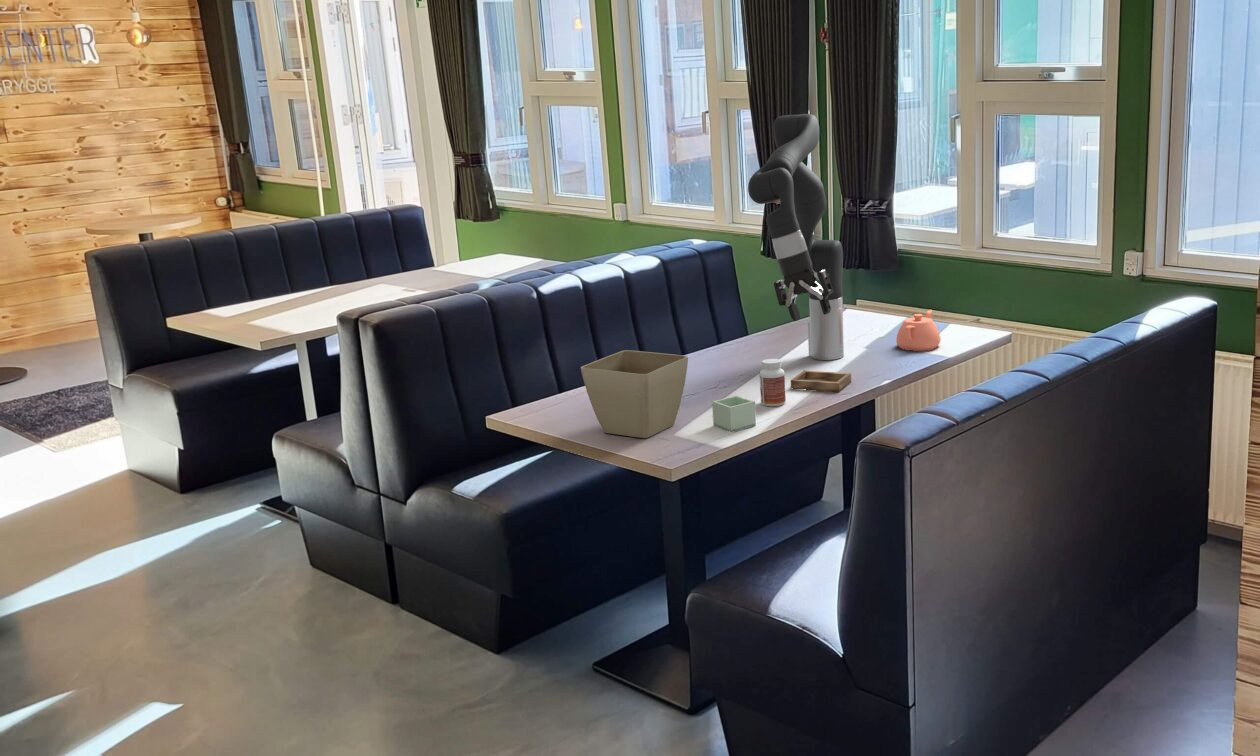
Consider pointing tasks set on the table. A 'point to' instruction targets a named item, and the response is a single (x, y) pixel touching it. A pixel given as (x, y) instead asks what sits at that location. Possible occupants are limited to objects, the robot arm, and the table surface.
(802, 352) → the table surface
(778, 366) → the pill bottle
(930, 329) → the teapot
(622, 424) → the flower pot
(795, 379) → the tray
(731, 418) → the pale green bin
